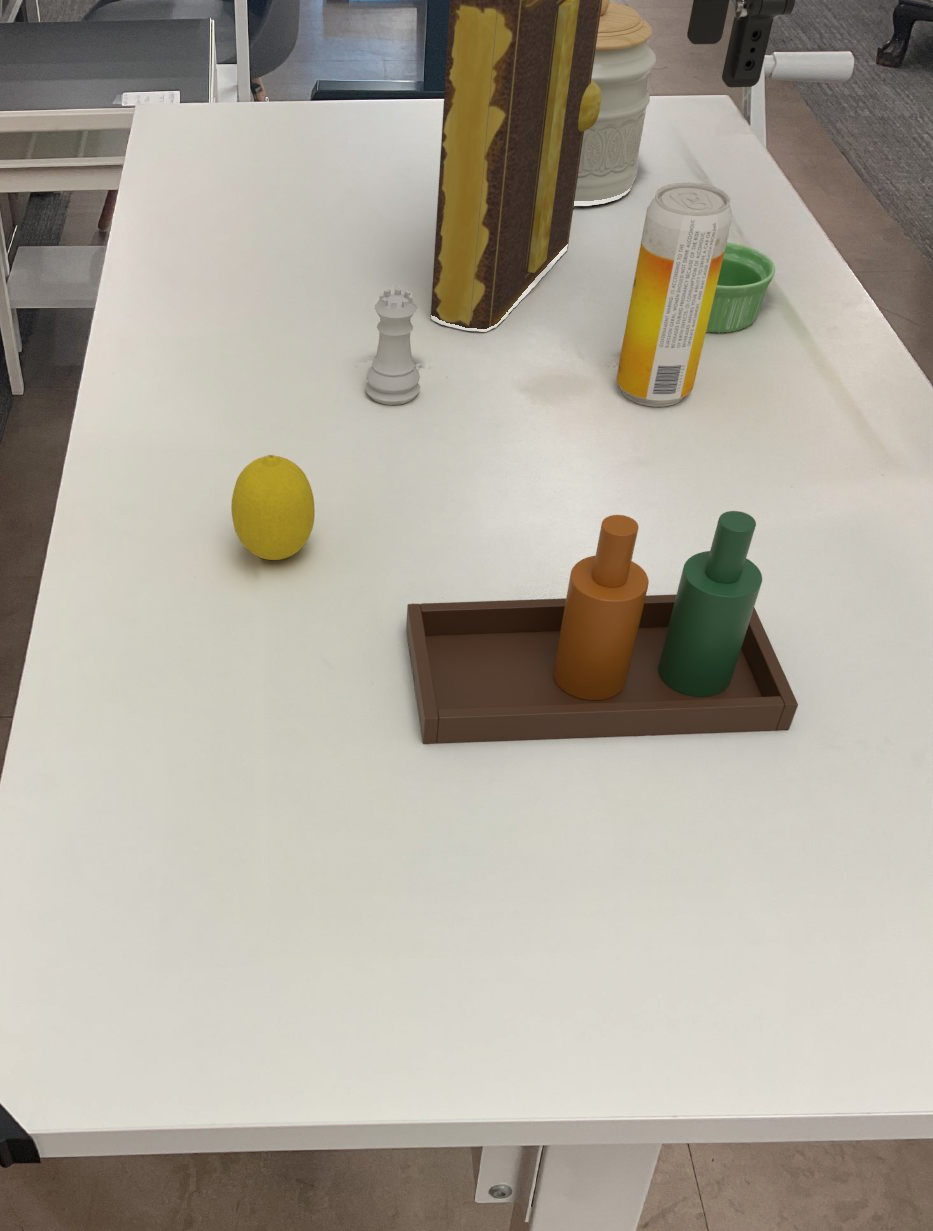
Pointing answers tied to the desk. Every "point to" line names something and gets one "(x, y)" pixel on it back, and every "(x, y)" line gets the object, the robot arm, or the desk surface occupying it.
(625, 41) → the jar
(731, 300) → the ramekin
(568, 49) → the book
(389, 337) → the rook chess piece
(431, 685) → the tray
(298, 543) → the lemon
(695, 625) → the green bottle
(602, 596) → the amber bottle
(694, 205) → the beer can
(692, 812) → the desk surface
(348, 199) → the desk surface
